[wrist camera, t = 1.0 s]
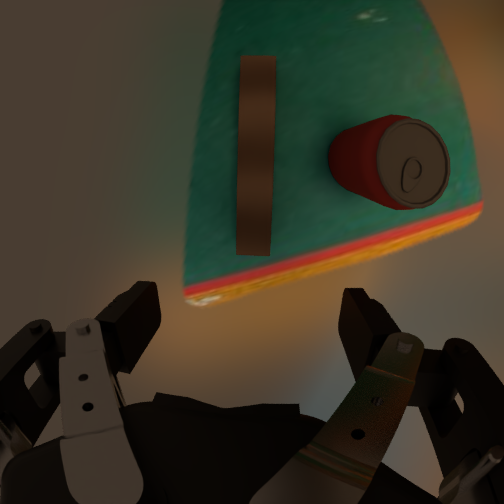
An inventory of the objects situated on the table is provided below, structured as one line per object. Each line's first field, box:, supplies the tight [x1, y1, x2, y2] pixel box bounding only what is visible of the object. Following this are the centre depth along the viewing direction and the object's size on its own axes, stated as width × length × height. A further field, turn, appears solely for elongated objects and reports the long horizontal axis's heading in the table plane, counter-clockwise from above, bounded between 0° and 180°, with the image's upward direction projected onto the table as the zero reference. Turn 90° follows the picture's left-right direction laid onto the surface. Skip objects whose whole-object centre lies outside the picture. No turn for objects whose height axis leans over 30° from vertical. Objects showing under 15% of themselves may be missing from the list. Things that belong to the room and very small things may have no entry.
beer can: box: [328, 115, 450, 210], centre depth 19 cm, size 7×7×12 cm
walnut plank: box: [236, 56, 276, 256], centre depth 24 cm, size 18×3×4 cm, turn 179°
